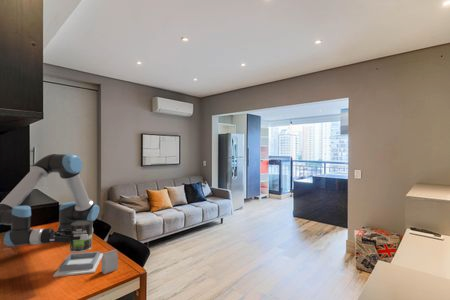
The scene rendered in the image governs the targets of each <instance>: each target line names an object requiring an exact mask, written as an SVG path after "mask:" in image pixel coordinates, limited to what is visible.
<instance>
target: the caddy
mask: <svg viewBox="0 0 450 300" xmlns="http://www.w3.org/2000/svg"><path fill="white" fill-rule="evenodd" d="M103 253H104V252H101V251H89V252H88V251H87V252H86V251H85V252H78V253H75V252H72V253H69V254H68V255H67V256H66V258H65V259H64V260H63V261H62V262H61V264H60V265H59V266H58V269H57V270H56V271H55V272H54V274H53V275H52V276H53V278H57V277H65V276H66V277H67V276H77V275H85V274H94V273H95V272H96V270H97V268H98V266H99V264H100V262H101V261H102V257H103Z"/></svg>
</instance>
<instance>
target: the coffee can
mask: <svg viewBox="0 0 450 300" xmlns="http://www.w3.org/2000/svg"><path fill="white" fill-rule="evenodd" d="M93 224H94V221H90V220H81V221H76V222H73V223H71V236H73V237H74V235H81V234H88V240H75V241H73V242H72V243H71V241H70V242H69V244H70V245H69V252H71V253H85V252H86V251H87V252H88V251H89V250H91V249H92V245H93V233H92V228H93Z"/></svg>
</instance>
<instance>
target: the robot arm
mask: <svg viewBox="0 0 450 300" xmlns="http://www.w3.org/2000/svg"><path fill="white" fill-rule="evenodd" d="M82 169H83V161H82V159H81V157H79V156H78V155H76V154H68V153H67V154H62V153H61V154H59V153H51V154H48V155H45V156H44V157H42V158H40V159H39V160H38V161H36V162H35V163H34V164H33V165H32V166H31V167H30V171H29V172H28V173H27V174H26V175H25V176H24V177H23V178H22V179H21V180H20V181H19V182H18V184H16V186H14V188H13V189H12V190H11V191H9V193H8V194H7V195H6V196H5V198H3V200H1V202H0V225H4V226H5V225H6V226H10V230H8V231H7V232H5V234H4V238H3V243H4V245H5V246H8V247H9V246H10V247H12V246H13V247H17V246H29V245H30V246H31V245H35V246H38V245H41V244H42V245H45V244H47V245H48V244H51V243H67V244H70V241H71V243H72V242H73V241H75V240H88V234H81V235H74V237H73V236H71V223H73V222H76V221H81V220H90V221H93V222H94V221H95V220H96V219H97V218H98V216H99V213H100V206H99V205H98V204H94V201H93V199H90V197H89V195H88V193H87V190H86V188H85V184H84V182H83V180H82V178H81V176H80V175H81V171H82ZM51 173H52V174H53V173H57V174H59V177H60V178H61V179H64V181H65V183H66V185H67V188H68V189H69V192H70V196H72V199H73V201H69V202H64V203H62V204H60V205H59V213H58V214H59V216H58V217H59V218H58V223H59V224H58V226H57V229H56V231H55V230H54V228H52V227H51V228H50V227H49V228H31V224H32V223H31V222H32V221H31V220H32V208H31V206H29V205H21V204H22V203H23V202H24V200H26V198H27V197H28V196H29V195H30V193H31V192H32V191H33V190H34V189H35V188H36V187H37V186H38V184H39V183H40V182H41V181H42V180H43V178H46V177H48V175H50V174H51ZM92 234H94V227H92Z"/></svg>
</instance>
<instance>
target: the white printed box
mask: <svg viewBox="0 0 450 300" xmlns="http://www.w3.org/2000/svg"><path fill="white" fill-rule="evenodd" d="M102 253H103V256H102V258H101V269H100V270H101V273H102V274H103V275H106V274H108V273H111V272H113V271H117V270H118V269H119V267H118V266H119V254H118V250H117V249H116V248H115V249H113V250H110V251H106V252H102Z"/></svg>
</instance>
